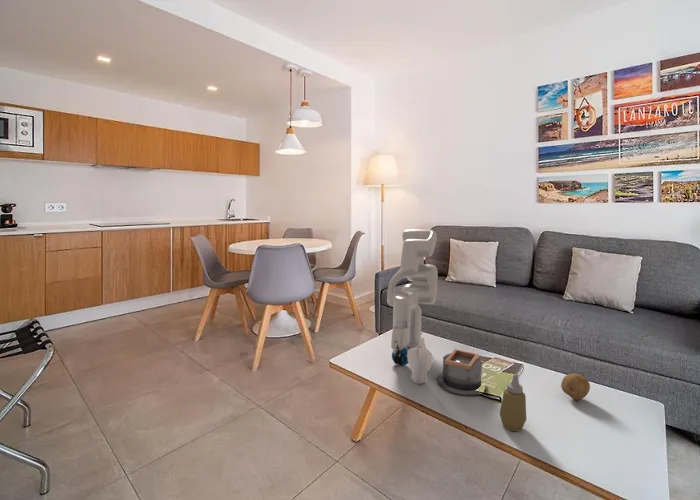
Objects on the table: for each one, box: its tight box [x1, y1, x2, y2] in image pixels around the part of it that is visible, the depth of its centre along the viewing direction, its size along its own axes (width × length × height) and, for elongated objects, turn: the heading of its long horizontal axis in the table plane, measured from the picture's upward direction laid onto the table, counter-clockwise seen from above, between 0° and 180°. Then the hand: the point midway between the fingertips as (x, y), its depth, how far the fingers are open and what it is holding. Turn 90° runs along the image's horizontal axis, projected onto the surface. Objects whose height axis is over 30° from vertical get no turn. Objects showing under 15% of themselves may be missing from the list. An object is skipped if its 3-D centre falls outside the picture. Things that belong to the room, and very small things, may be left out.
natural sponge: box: [560, 372, 591, 401], centre depth 135 cm, size 9×9×10 cm
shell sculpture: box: [407, 337, 434, 385], centre depth 146 cm, size 8×8×18 cm
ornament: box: [391, 348, 409, 367], centre depth 162 cm, size 8×5×10 cm, turn 66°
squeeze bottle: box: [499, 374, 527, 432], centre depth 117 cm, size 8×8×18 cm
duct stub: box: [437, 348, 483, 397], centre depth 145 cm, size 19×19×12 cm
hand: (400, 361), depth 162 cm, fingers closed on ornament, 4 cm apart
